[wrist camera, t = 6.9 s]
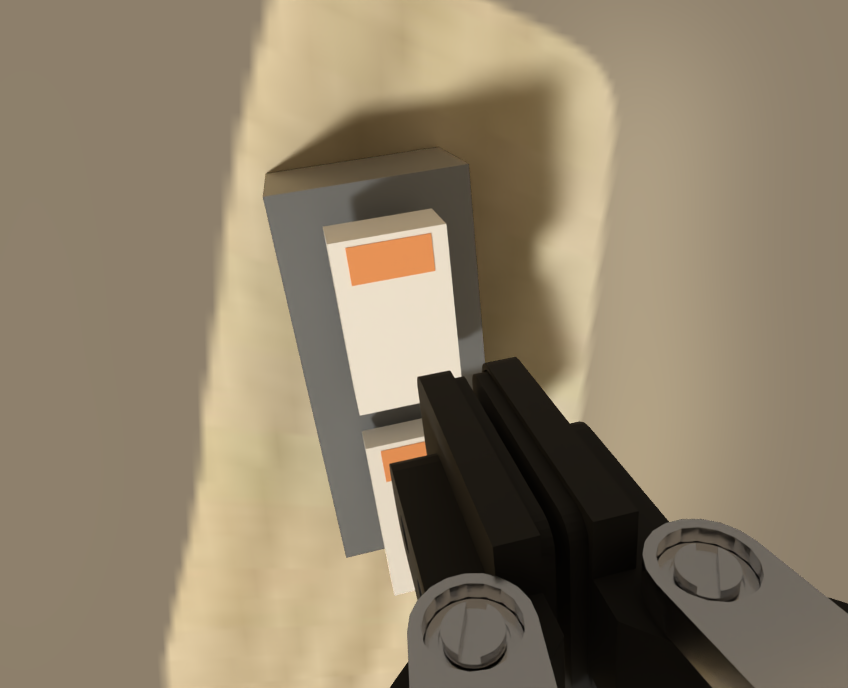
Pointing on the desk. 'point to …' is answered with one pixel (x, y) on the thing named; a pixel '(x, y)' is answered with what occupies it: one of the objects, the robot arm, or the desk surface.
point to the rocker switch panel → (318, 310)
